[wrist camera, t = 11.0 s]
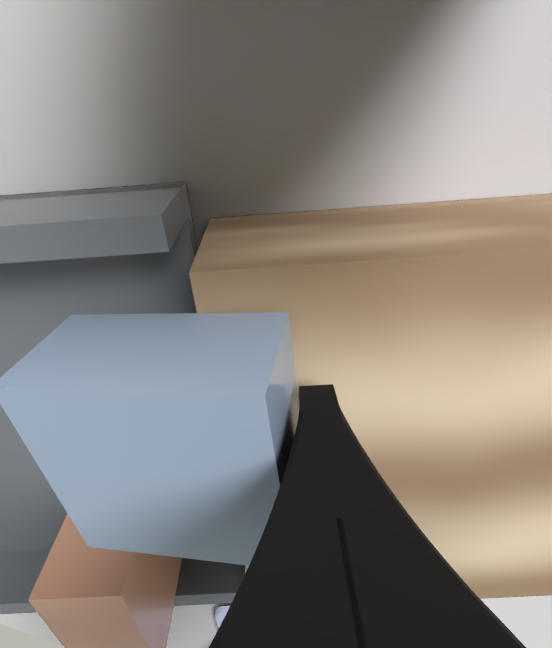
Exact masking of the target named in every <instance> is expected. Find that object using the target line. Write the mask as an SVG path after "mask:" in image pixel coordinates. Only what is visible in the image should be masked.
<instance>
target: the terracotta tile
mask: <svg viewBox="0 0 552 648" xmlns="http://www.w3.org/2000/svg"><path fill="white" fill-rule="evenodd" d="M181 561H182V558H180V557H171V556H163V555H154V554H146V553H137V552H129V551H120V550H112V549H103V548H94V547H88V546H87V544H86V543H85V541H84V539H83V538H82V536H81V534H80V533H79V531H78V530H77V528H76V526H75V525H74V523H73V521H72V520H71V518H70V517H69V515H68V513H67V515H66V518H65V520H64V522H63V524H62V526H61V529H60V531H59V533H58V535H57V537H56V540H55V542H54V544H53V546H52V548H51V551H50V553H49V555H48V557H47V559H46V562H45V564H44V566H43V568H42V570H41V573H40V575H39V577H38V579H37V581H36V584H35V586H34V588H33V590H32V592H31V595H30V597H29V599H28V601H29V602H30V603H31V604H32V606H33V607H34V608H35V610H36V611H37V612H38V614H39V615H40V616H41V617H42V619H43V620H44V621H45V623H46V624H47V625H48V626H49V628H50V629H51V630H52V632H53V633H54V634H55V636H56V637H57V638H58V639H59V641H60V642H61V643H62V645H63V646H64V647H65V648H166V644H167V639H168V633H169V627H170V622H171V616H172V611H173V605H174V600H175V594H176V588H177V583H178V577H179V572H180V566H181Z"/></svg>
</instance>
